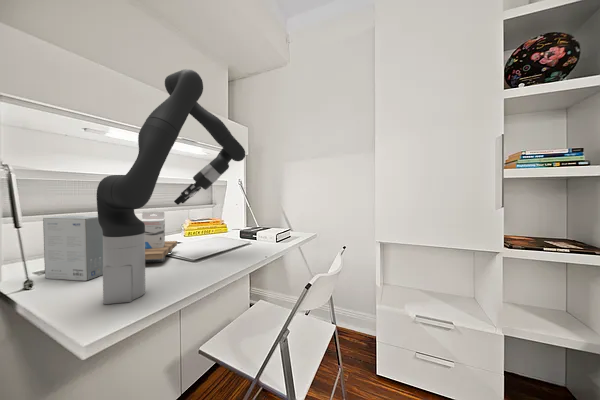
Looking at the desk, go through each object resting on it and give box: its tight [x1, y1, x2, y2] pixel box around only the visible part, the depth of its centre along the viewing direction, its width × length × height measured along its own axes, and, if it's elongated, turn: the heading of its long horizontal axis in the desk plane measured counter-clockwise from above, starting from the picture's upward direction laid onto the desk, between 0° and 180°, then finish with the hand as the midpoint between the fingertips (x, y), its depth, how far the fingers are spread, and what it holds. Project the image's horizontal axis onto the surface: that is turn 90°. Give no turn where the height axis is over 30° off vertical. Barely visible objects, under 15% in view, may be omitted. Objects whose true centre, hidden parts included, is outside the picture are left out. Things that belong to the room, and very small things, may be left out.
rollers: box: [145, 249, 173, 264], centre depth 97 cm, size 13×12×3 cm
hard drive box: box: [42, 215, 103, 282], centre depth 77 cm, size 16×8×20 cm, turn 84°
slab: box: [145, 240, 178, 259], centre depth 97 cm, size 22×14×2 cm, turn 15°
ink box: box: [140, 211, 166, 249], centre depth 97 cm, size 8×5×15 cm, turn 113°
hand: (178, 202), depth 99 cm, fingers open, 8 cm apart
